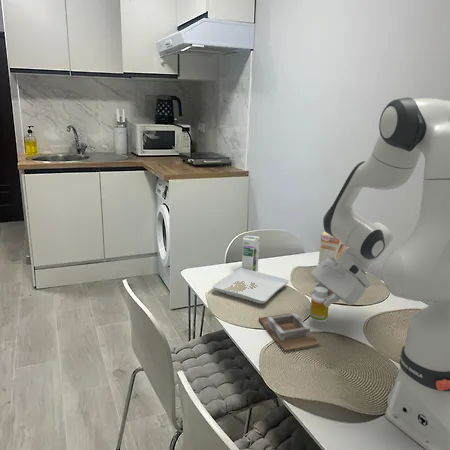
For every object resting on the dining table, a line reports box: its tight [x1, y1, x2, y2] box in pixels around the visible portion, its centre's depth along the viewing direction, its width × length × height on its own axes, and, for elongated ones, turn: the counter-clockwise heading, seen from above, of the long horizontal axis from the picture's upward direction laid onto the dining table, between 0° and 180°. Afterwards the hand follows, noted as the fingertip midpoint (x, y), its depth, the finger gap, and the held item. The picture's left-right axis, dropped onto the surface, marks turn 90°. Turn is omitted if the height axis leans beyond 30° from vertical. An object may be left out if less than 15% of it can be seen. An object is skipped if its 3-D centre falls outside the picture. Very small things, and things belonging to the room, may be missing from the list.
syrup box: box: [241, 234, 261, 272], centre depth 167 cm, size 6×6×14 cm
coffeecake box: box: [317, 231, 348, 266], centre depth 162 cm, size 15×7×20 cm, turn 148°
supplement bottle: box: [309, 287, 330, 323], centre depth 128 cm, size 5×5×10 cm
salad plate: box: [212, 267, 289, 304], centre depth 152 cm, size 21×21×3 cm
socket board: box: [258, 312, 320, 353], centre depth 125 cm, size 18×11×4 cm, turn 19°
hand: (318, 300), depth 128 cm, fingers closed on supplement bottle, 5 cm apart
